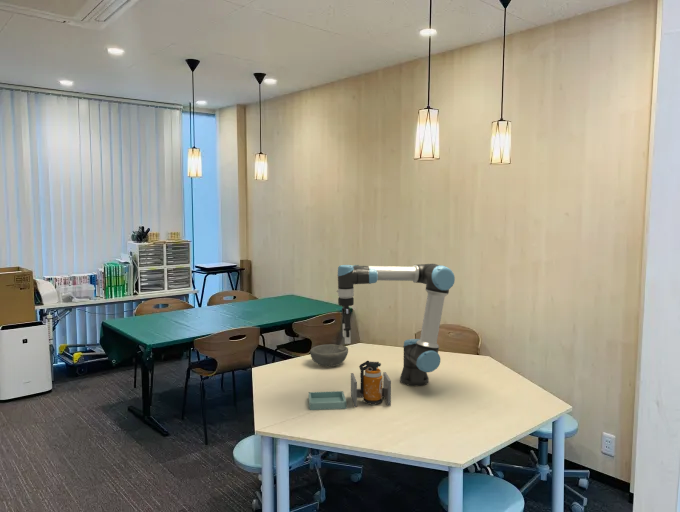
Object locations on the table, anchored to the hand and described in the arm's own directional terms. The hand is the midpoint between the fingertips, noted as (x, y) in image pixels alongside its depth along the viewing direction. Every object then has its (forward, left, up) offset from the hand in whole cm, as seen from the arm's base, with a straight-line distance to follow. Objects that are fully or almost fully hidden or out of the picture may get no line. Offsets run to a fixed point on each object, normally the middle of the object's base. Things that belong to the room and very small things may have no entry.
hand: (346, 340), depth 259 cm
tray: (+10, +7, -29) cm, 31 cm away
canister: (-11, +7, -29) cm, 32 cm away
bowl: (+4, -56, -29) cm, 63 cm away
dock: (-11, +7, -29) cm, 32 cm away
